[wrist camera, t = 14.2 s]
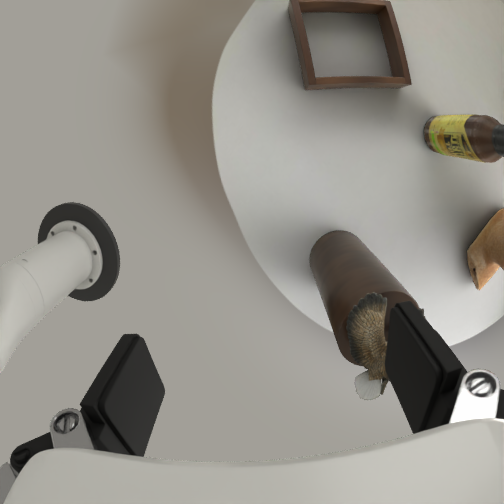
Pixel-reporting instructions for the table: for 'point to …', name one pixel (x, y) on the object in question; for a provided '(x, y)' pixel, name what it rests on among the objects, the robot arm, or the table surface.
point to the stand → (351, 281)
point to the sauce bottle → (466, 137)
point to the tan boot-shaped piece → (487, 251)
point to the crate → (368, 3)
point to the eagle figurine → (369, 344)
